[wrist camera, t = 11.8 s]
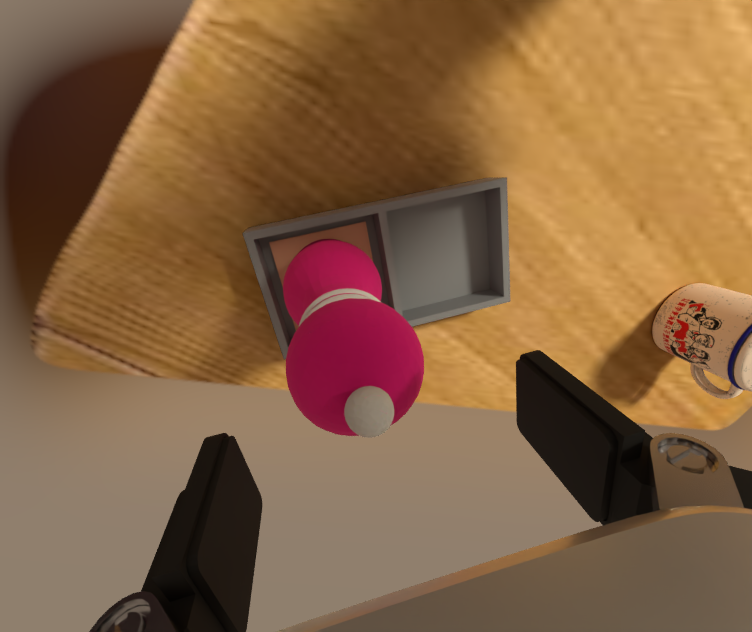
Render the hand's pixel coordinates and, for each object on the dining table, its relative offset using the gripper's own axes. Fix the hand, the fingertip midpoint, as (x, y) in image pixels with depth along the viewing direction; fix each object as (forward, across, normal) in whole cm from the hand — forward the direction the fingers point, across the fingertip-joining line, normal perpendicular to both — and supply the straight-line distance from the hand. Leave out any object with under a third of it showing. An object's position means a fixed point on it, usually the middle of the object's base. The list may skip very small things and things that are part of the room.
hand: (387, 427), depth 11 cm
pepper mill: (+20, +1, 0) cm, 21 cm away
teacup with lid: (+22, -38, +17) cm, 47 cm away
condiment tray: (+21, -4, +1) cm, 22 cm away
